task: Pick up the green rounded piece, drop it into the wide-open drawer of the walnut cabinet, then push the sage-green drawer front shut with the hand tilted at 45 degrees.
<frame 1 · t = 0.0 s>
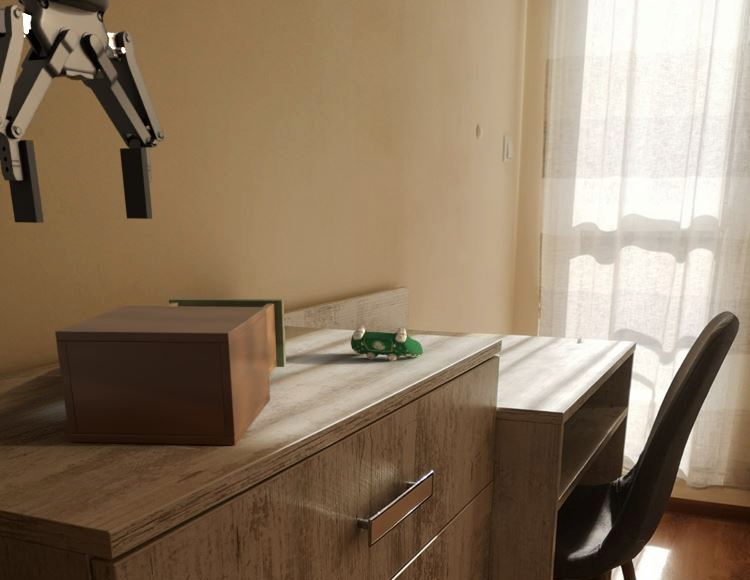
hand: (88, 220, 77), 18 cm above the table, tool pointing down, fingers open, 13 cm apart
drawer: (218, 339, 93), point 5 cm above the table, slide at 13.0 cm
green rounded piece: (384, 360, 108), on the table
cabinet: (179, 419, 79), on the table
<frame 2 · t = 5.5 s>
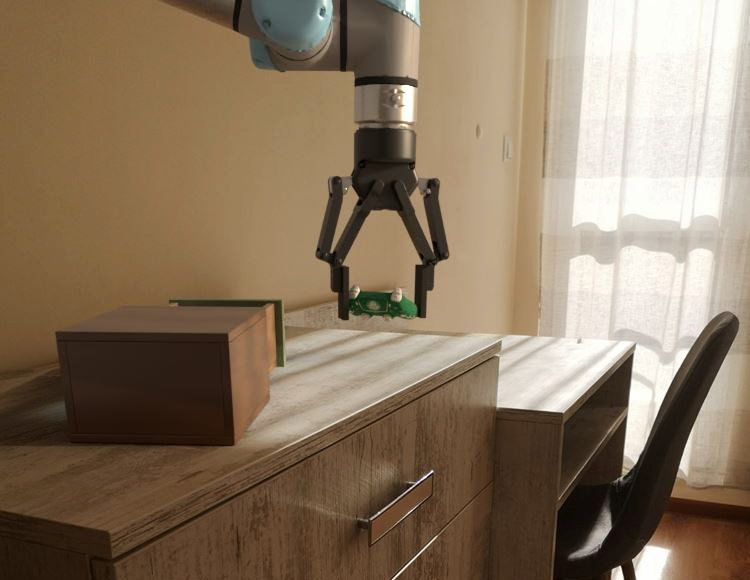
hand: (382, 317, 106), 5 cm above the table, tool pointing down, fingers closed on green rounded piece, 10 cm apart
green rounded piece: (379, 321, 106), point 5 cm above the table, touching gripper
everything else where it was.
when the fingers open (7 cm above the table, at t = 12.0 s): green rounded piece drops 4 cm, resting on drawer.
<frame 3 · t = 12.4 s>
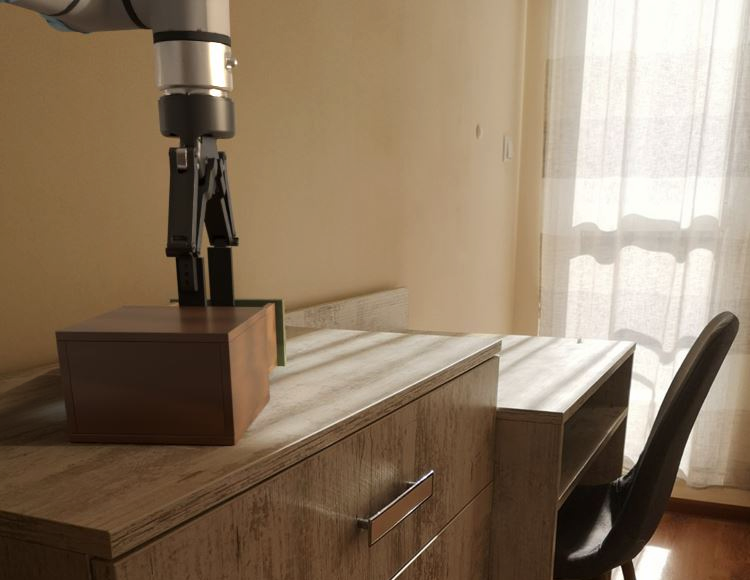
hand: (209, 314, 90), 8 cm above the table, tool pointing down, fingers open, 12 cm apart
drawer: (219, 339, 93), point 5 cm above the table, slide at 13.5 cm, touching green rounded piece
green rounded piece: (213, 370, 91), point 2 cm above the table, touching drawer
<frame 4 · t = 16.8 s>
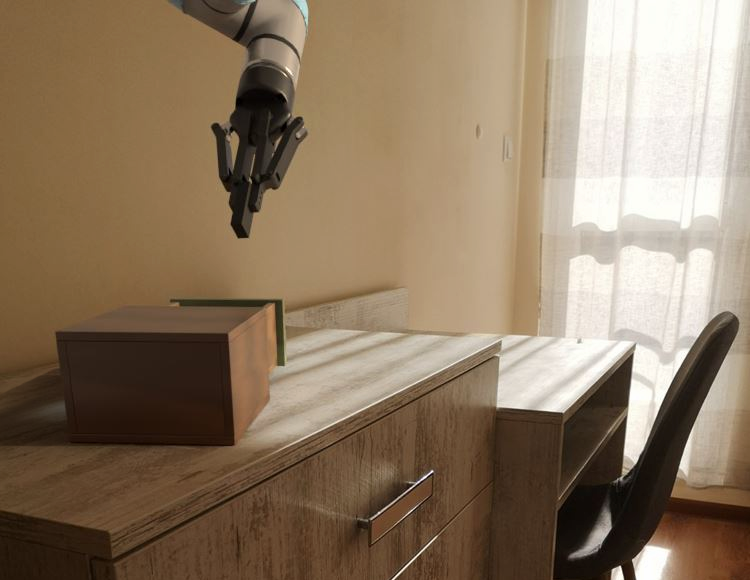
hand: (239, 231, 102), 16 cm above the table, tool tilted 40°, fingers closed
nothing on the table moved.
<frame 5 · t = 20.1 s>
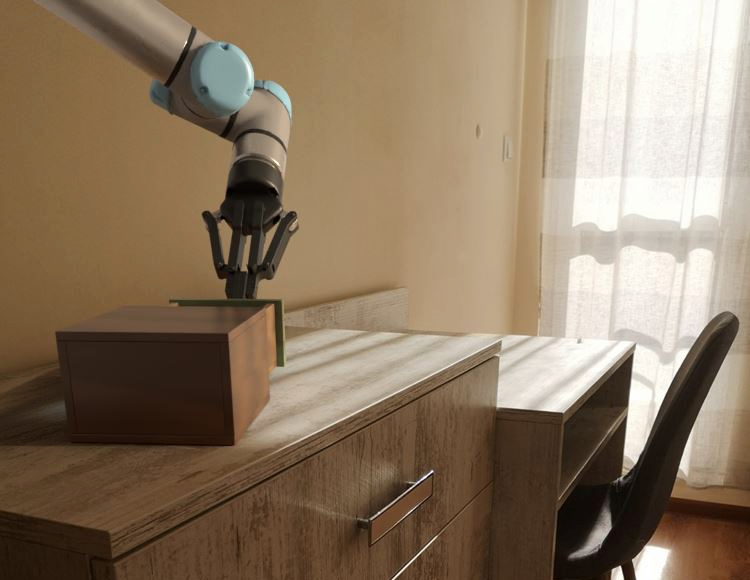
hand: (237, 319, 102), 6 cm above the table, tool tilted 45°, fingers closed
drawer: (218, 339, 93), point 5 cm above the table, slide at 13.1 cm, touching green rounded piece, gripper
everything else where it was.
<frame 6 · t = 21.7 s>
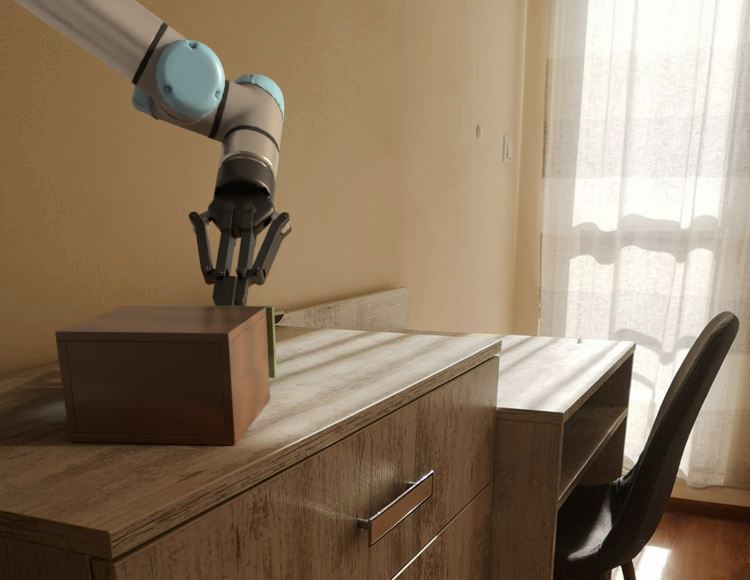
hand: (225, 327, 96), 6 cm above the table, tool tilted 45°, fingers closed
drawer: (203, 349, 87), point 5 cm above the table, slide at 6.7 cm, touching green rounded piece, gripper
green rounded piece: (197, 383, 85), point 2 cm above the table, touching drawer
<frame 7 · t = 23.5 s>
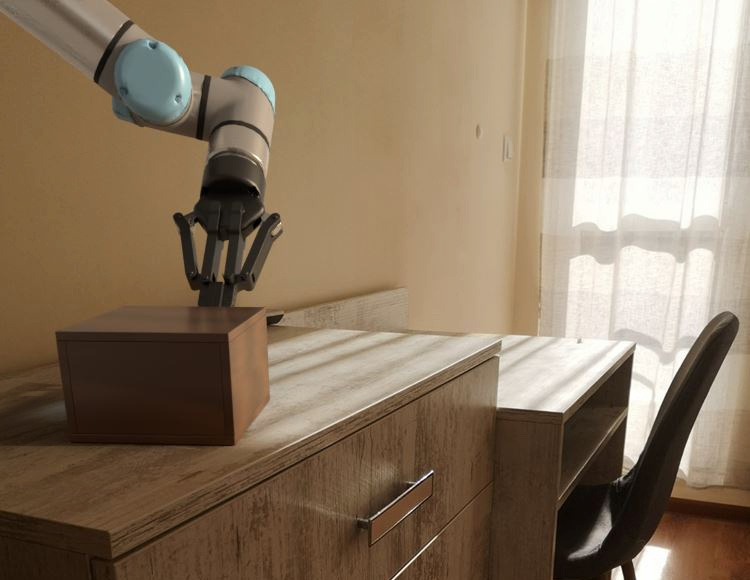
hand: (211, 337, 90), 6 cm above the table, tool tilted 45°, fingers closed
drawer: (186, 361, 81), point 5 cm above the table, slide at 0.0 cm, touching cabinet, green rounded piece, gripper
green rounded piece: (179, 398, 79), point 2 cm above the table, touching drawer
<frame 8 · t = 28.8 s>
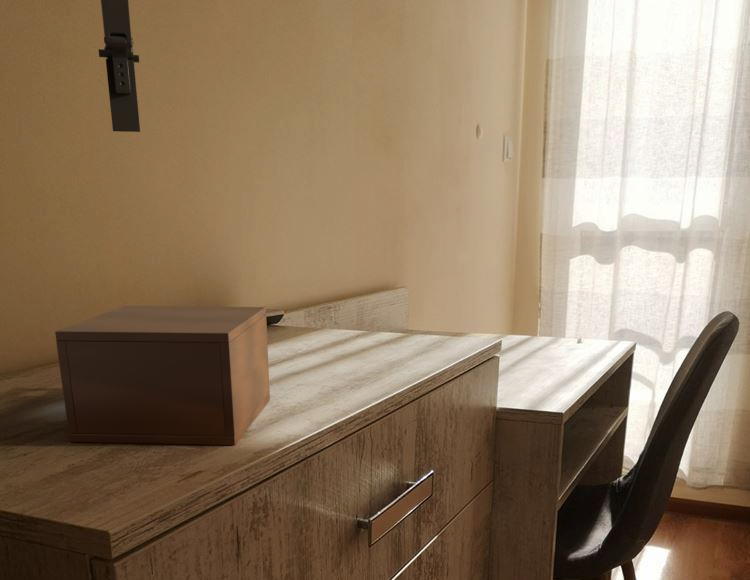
hand: (126, 130, 85), 26 cm above the table, tool pointing down, fingers closed
drawer: (186, 361, 81), point 5 cm above the table, slide at 0.0 cm, touching green rounded piece
everything else where it was.
at the end: drawer slide at 0.0 cm; green rounded piece inside the target area in the cabinet (0.8 cm from its centre), point 1.8 cm above the cabinet's base; the gripper is holding nothing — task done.
